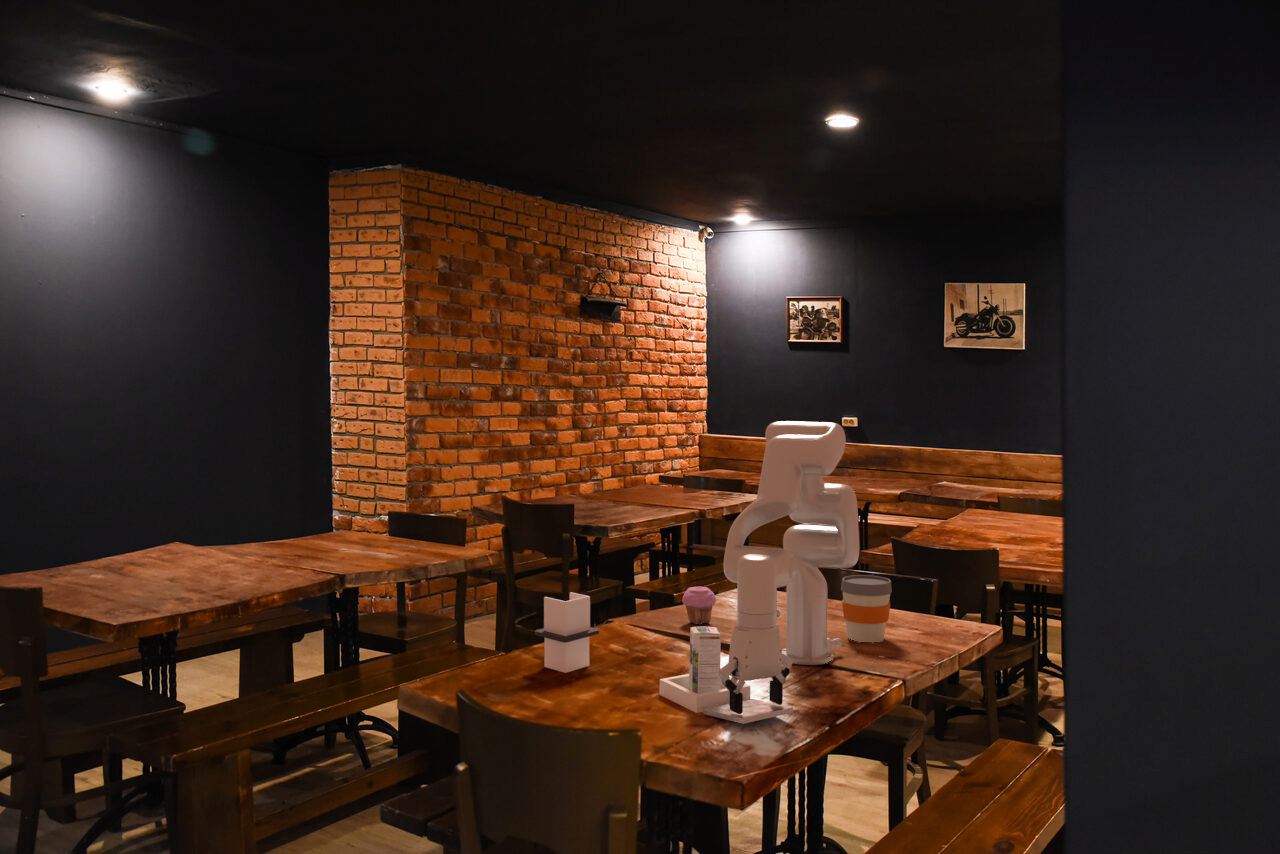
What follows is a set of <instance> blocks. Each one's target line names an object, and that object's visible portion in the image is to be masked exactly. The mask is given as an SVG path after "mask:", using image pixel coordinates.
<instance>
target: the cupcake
mask: <svg viewBox="0 0 1280 854" xmlns="http://www.w3.org/2000/svg"><path fill="white" fill-rule="evenodd" d="M681 600H682V604H683V605H684V606H685V609H686V612H687V617H688V620H689V622H690V623H691V622H692V623H691V624H693V623H694V624H693V625H696V624H699V625H702V624H701V623H707V624H710V622H711V619H712V610H713V607H714V606H715V605H716V603H717V599H716V595H715V593H714V592H713V591H712V590H711V589H710V588H709V587H706V586H690V587H688V588H687V589H686V591H685V592H684V593H683V596H682V599H681Z"/></svg>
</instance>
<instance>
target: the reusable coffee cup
mask: <svg viewBox="0 0 1280 854" xmlns="http://www.w3.org/2000/svg"><path fill="white" fill-rule="evenodd" d="M840 591H841V592H842V600H841V603H842V605H841V606H842V613H843V619H844V620H845V625H846V627H845V628H846V633H847V634H846V635H847V639H848V638H849V639H848V640H850V639H851V640H850V641H852V640H854V641H853V642H855V641H859V642H858V643H861V642H872V643H871V644H875V643H874V642H878V643H881V642H883V641H884V639H885V633H886V632H885V631H886V625H887V622H888V621H889V615H890V610H891V601H890V597H891V594H892V592H893V590H892V581H891V579H890V578H888V577H883V576H879V575H869V574H868V575H866V574H863V575H862V574H858V575H857V574H856V575H848V576H844V577H842V579H841V587H840Z"/></svg>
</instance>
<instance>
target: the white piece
mask: <svg viewBox="0 0 1280 854" xmlns="http://www.w3.org/2000/svg"><path fill="white" fill-rule="evenodd" d="M729 678H730V680H731V678H732V676H729ZM738 681H739V680H738ZM738 681H737V683H738ZM737 683H736V684H737ZM736 684H735V685H736ZM740 693H742V694H743V700H747V699H751V685H750V684H747V683H745V684H744V686H743V687H742V689H741V691H740ZM659 696H661V697H663V698H665V699H668V700H669V701H671V702H674V703H676V704H677V705H680V706H682V707H684V708H685V709H688V710H690V711H692V712H693V713H696V714H697V713H703V709H704V708H709V707H714V706H719V705H723V704H728V703H729V690H727V688H726V687H725V686H724V685H723V684H722V680H721V678H720V690H716V691H711V692H706V693H701V694H697V693H695V692H692V691H690V690H689V673H687V674H681V675H675V676H670V677H666V678H665V677H664V678H660V679H659Z"/></svg>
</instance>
